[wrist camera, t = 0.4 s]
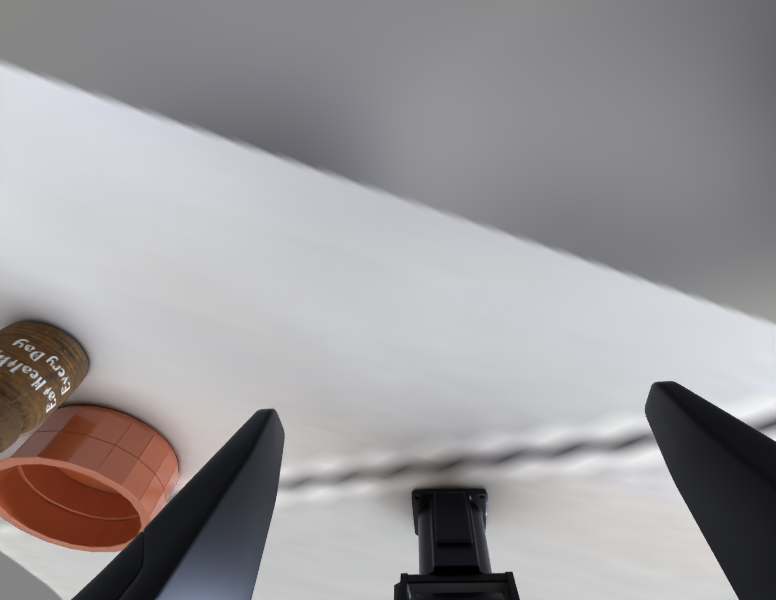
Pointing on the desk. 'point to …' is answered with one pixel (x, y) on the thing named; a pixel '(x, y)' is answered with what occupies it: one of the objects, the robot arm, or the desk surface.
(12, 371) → the utensil holder
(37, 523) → the pot
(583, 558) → the desk surface
